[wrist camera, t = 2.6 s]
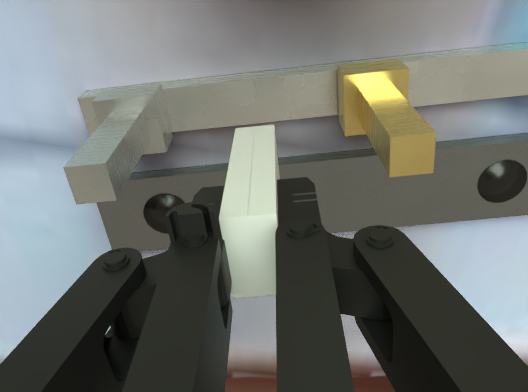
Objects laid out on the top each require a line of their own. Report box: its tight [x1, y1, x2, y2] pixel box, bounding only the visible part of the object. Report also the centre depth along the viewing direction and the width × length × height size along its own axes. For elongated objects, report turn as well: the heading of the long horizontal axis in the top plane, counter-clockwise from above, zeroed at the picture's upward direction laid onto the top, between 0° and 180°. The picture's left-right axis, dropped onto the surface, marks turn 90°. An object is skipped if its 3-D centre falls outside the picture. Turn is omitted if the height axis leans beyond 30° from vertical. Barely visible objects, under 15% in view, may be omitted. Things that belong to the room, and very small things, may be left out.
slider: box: [337, 59, 436, 177], centre depth 20 cm, size 3×3×8 cm
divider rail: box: [63, 42, 528, 204], centre depth 21 cm, size 28×3×9 cm, turn 96°
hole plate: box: [97, 133, 528, 251], centre depth 28 cm, size 30×5×1 cm, turn 96°
